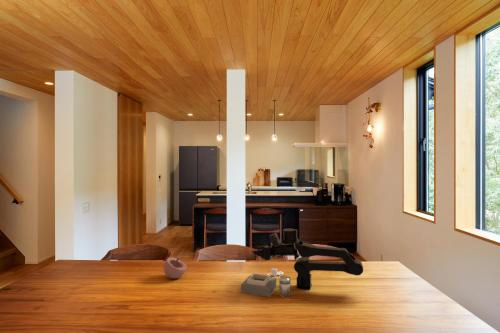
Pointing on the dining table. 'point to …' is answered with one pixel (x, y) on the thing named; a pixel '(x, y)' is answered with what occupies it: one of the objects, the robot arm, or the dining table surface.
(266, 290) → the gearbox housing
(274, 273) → the teacup and saucer
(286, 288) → the metal can
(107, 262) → the dining table surface
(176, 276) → the mortar and pestle
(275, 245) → the robot arm
